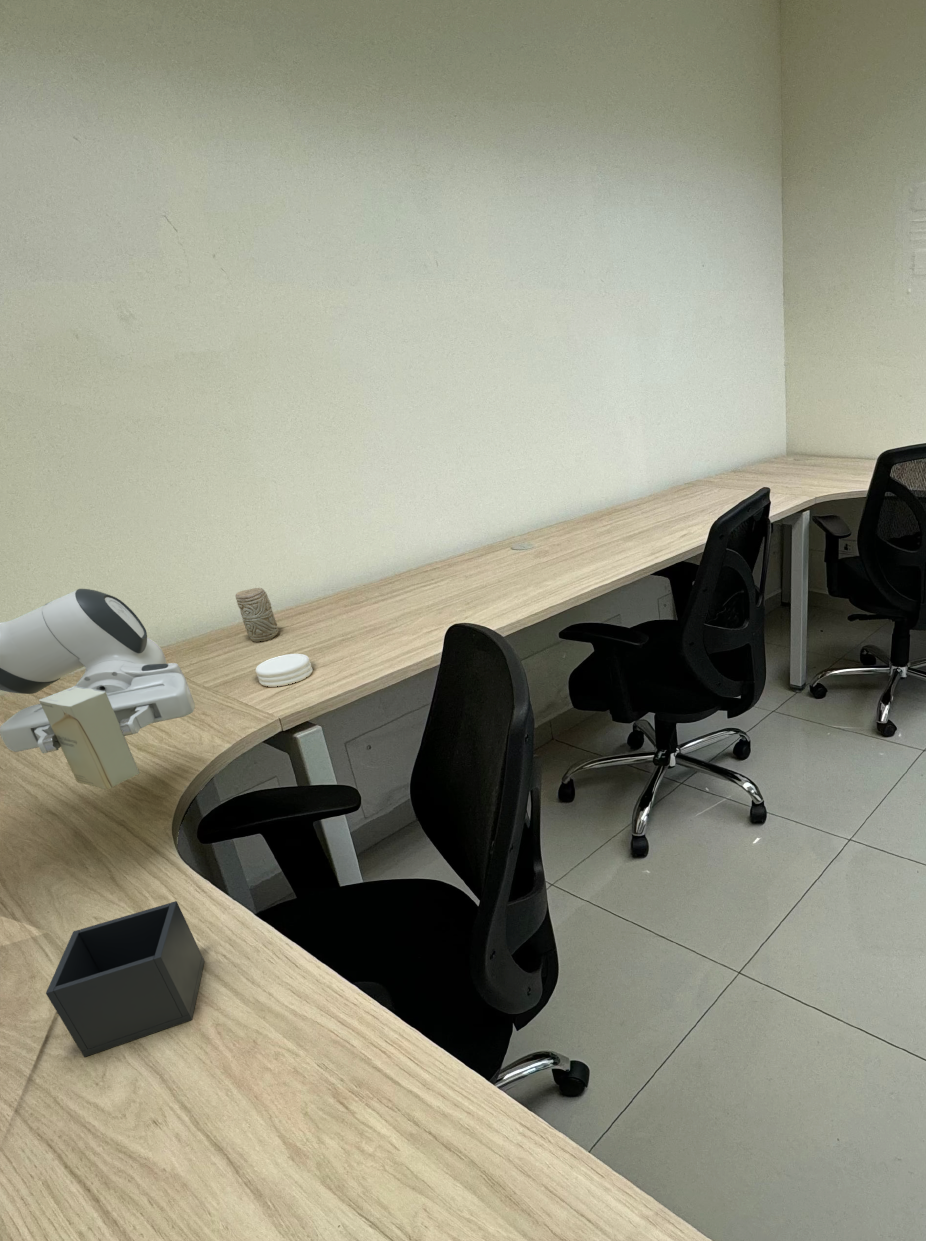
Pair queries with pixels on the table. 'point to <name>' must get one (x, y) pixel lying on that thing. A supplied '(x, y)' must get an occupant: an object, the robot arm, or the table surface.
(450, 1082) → the table surface
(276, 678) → the white ridged disc
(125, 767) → the cosmetic box
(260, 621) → the carving
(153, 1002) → the waste bin
